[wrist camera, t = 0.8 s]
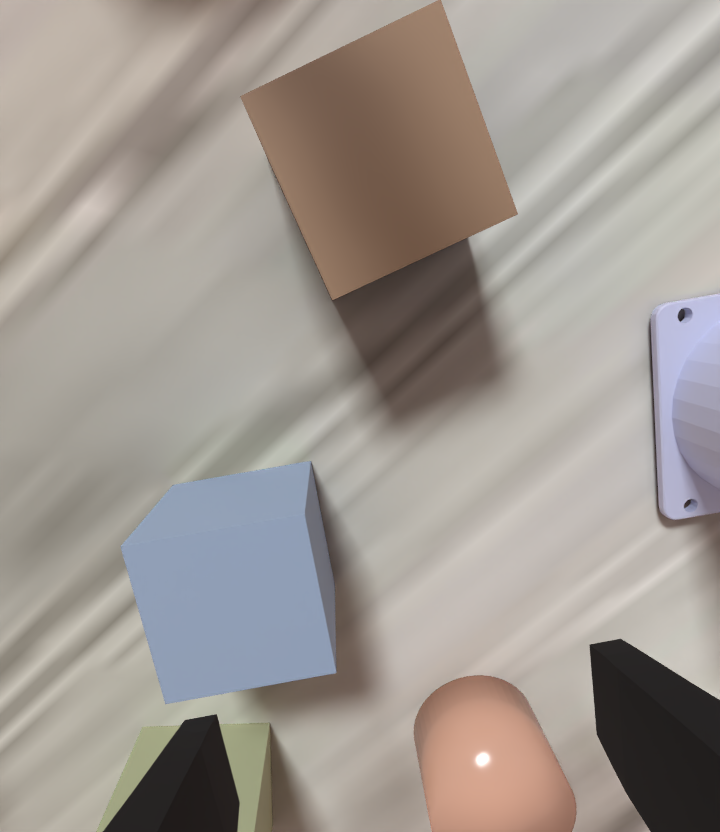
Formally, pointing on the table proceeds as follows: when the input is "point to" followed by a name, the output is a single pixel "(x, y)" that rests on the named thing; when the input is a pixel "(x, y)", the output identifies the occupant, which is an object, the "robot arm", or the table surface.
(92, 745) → the table surface
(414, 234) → the walnut cube
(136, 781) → the olive cube
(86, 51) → the table surface
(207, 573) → the slate blue cube
